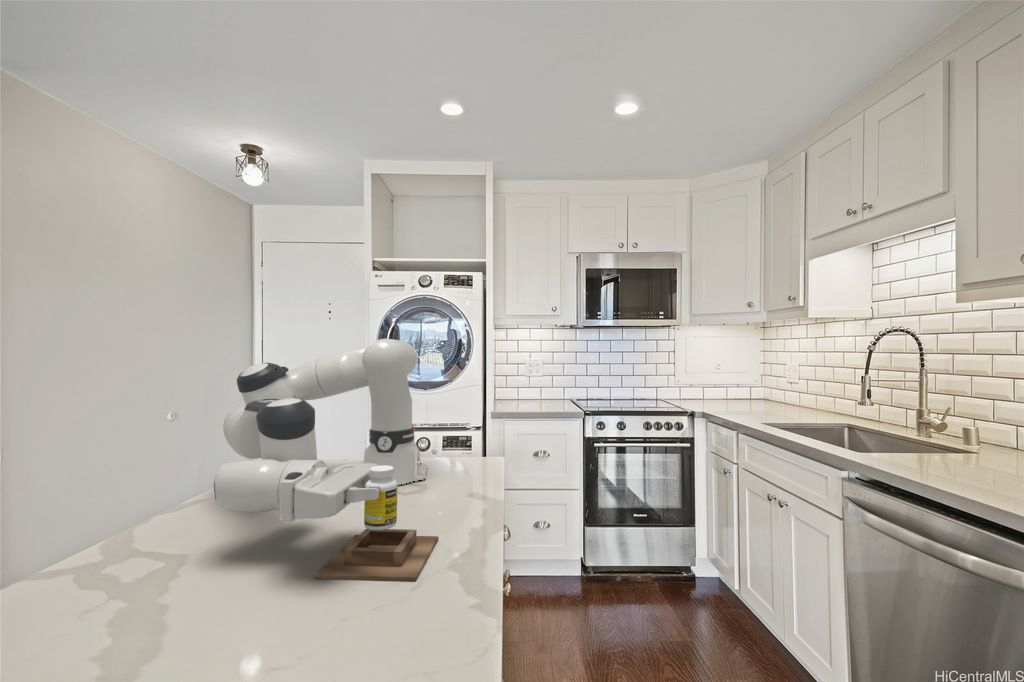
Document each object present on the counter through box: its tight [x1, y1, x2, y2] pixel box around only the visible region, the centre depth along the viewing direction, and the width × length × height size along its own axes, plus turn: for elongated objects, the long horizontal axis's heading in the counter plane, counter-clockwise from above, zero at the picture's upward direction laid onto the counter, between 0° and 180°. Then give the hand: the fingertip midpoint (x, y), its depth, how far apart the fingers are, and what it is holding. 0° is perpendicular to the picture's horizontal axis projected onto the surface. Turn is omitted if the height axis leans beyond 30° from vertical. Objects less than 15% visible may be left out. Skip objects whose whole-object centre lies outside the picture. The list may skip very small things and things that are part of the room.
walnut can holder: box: [314, 528, 439, 582], centre depth 80 cm, size 16×16×3 cm
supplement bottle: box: [363, 465, 398, 530], centre depth 80 cm, size 5×5×10 cm
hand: (386, 487), depth 80 cm, fingers closed on supplement bottle, 5 cm apart
